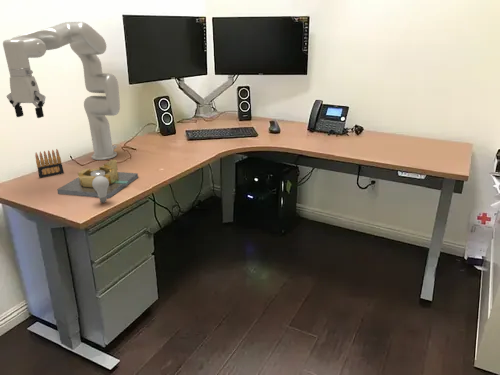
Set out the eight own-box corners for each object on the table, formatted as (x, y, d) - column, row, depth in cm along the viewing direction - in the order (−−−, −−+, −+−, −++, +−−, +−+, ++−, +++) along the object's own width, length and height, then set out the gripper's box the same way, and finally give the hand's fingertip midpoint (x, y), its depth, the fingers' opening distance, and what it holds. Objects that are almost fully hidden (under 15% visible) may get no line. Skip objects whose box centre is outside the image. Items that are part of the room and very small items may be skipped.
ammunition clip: (39, 178, 193) (33, 153, 189) (38, 177, 195) (33, 152, 190) (64, 173, 198) (59, 149, 194) (63, 172, 200) (58, 148, 195)
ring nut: (101, 168, 196) (99, 158, 194) (130, 170, 193) (129, 160, 191) (72, 185, 177) (70, 174, 175) (104, 188, 173) (103, 177, 172)
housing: (91, 174, 197) (89, 161, 194) (140, 177, 191) (138, 165, 188) (58, 193, 175) (55, 180, 173) (111, 198, 169) (109, 184, 167)
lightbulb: (113, 199, 169) (109, 173, 165) (109, 205, 163) (105, 178, 159) (98, 199, 169) (93, 173, 164) (93, 205, 163) (88, 179, 159)
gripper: (46, 72, 164) (54, 115, 170) (9, 71, 168) (19, 114, 175) (32, 74, 157) (42, 119, 164) (-6, 74, 161) (5, 118, 168)
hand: (30, 116), depth 169 cm, fingers open, 9 cm apart
